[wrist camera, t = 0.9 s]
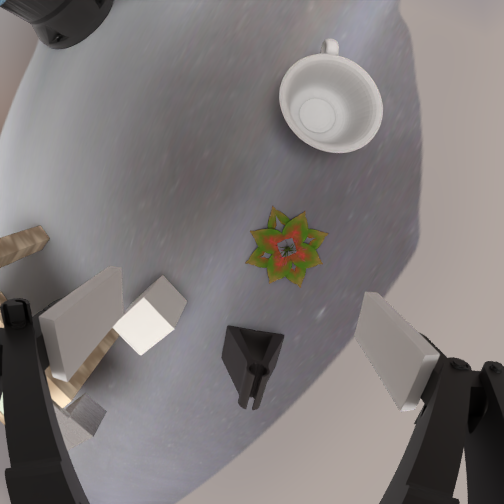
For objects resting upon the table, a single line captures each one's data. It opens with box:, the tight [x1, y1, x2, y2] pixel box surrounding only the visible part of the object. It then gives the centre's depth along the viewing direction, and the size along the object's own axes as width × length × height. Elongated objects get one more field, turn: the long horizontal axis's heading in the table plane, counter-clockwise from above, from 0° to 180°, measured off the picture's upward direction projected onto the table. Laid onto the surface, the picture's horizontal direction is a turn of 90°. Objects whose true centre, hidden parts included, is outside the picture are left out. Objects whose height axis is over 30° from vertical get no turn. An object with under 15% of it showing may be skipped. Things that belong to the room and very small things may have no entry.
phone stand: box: [222, 326, 284, 410], centre depth 41 cm, size 9×6×12 cm, turn 78°
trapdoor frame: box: [0, 225, 119, 425], centre depth 36 cm, size 23×23×20 cm
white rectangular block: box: [112, 275, 187, 356], centre depth 40 cm, size 6×7×9 cm
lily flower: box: [246, 206, 329, 288], centre depth 41 cm, size 12×12×5 cm
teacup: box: [279, 39, 383, 153], centre depth 33 cm, size 12×15×10 cm
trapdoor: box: [0, 392, 107, 451], centre depth 30 cm, size 25×16×6 cm, turn 40°
